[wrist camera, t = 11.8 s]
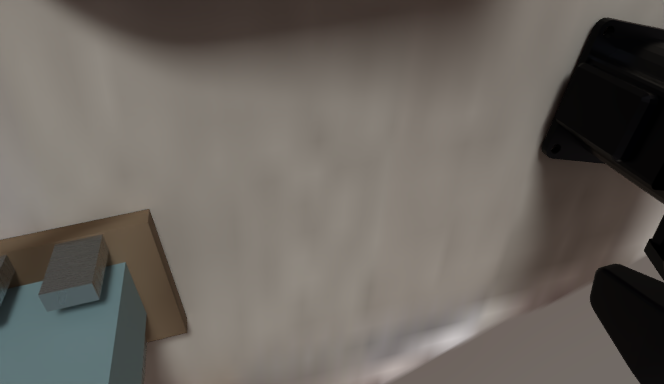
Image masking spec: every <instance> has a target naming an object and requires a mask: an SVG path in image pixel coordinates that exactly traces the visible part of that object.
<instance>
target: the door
mask: <svg viewBox="0 0 664 384" xmlns="http://www.w3.org/2000/svg"><path fill="white" fill-rule="evenodd" d="M42 282H43V281H40V282H35V283H31V284H27V285H22V286H18V287H13V288H9V289H7V292H6V294H5V297H4V299H3V301H2V304H1V306H0V384H141V380H142V367H143V354H144V341H145V328H146V315H147V313H146V311H145V308H144V306H143V303H142V301H141V299H140V296H139V294H138V291H137V289H136V286H135V284H134V281H133V279H132V277H131V274H130V272H129V269H128V267H127V264H126V262H124V263H119V264H115V265H111V266H106V268H105V274H104V279H103V284H102V289H101V295H100V300H96V301H92V302H88V303H83V304H79V305H75V306H70V307H66V308H62V309H57V310H53V311H49V312H47V311H46V309H45V307H44V305H43V304H42V302H41V300H40V298H39V296H38V294H39V291H40V288H41V285H42Z"/></svg>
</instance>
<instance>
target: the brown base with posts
mask: <svg viewBox="0 0 664 384" xmlns="http://www.w3.org/2000/svg"><path fill="white" fill-rule="evenodd" d="M124 262H126V264H127V267H128V269H129V272H130V274H131V277H132V279H133V281H134V284H135V286H136V289H137V291H138V294H139V296H140V299H141V301H142V303H143V306H144V308H145V311H146V313H147V315H146V328H145V341H144V354H143V367H142V380H141V384H144V375H145V361H146V347H147V342H151V341H155V340H159V339H163V338H167V337H171V336H175V335H179V334H183V333H187V317H186V314H185V311H184V309H183V306H182V303H181V300H180V297H179V294H178V291H177V288H176V285H175V283H174V280H173V277H172V274H171V271H170V268H169V265H168V262H167V259H166V257H165V254H164V251H163V248H162V245H161V242H160V239H159V236H158V233H157V231H156V228H155V225H154V222H153V219H152V216H151V213H150V210H149V209H147V210H142V211H138V212H133V213H128V214H123V215H118V216H114V217H109V218H104V219H99V220H94V221H90V222H85V223H80V224H75V225H70V226H66V227H61V228H56V229H51V230H46V231H42V232H37V233H32V234H27V235H23V236H18V237H13V238H8V239H3V240H0V306H1V304H2V301H3V299H4V297H5V294H6V292H7V289H9V288H13V287H18V286H22V285H27V284H31V283H35V282H40V281H43V282H42V285H41V288H40V291H39V294H38V296H39V298H40V300H41V302H42V304H43V305H44V307H45V309H46V311H47V312H49V311H53V310H57V309H62V308H66V307H70V306H75V305H79V304H83V303H88V302H92V301H96V300H100V295H101V289H102V284H103V279H104V274H105V268H106V266H111V265H115V264H119V263H124Z"/></svg>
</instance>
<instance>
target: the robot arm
mask: <svg viewBox="0 0 664 384" xmlns="http://www.w3.org/2000/svg"><path fill="white" fill-rule="evenodd" d="M607 27H608V30H607V32H606V33H605V34H604V30H605V29H606V28H607ZM603 34H604V35H603ZM554 145H556V146H555V147H554V148H553V149H552V147H553V146H554ZM551 149H552V150H551ZM542 152H543V153H544V154H545V155H547V156H548V157H549V158H553V159H563V160H574V161H584V162H594V163H604V164H607V165H608V166H610V167H611V168H613V169H614V170H615V171H617V172H618V173H620V174H621V175H623V176H624V177H625V178H627V179H628V180H630V181H631V182H633V183H634V184H636V185H637V186H638V187H640V188H641V189H643V190H644V191H646V192H647V193H648V194H650V195H651V196H653V197H654V198H656V199H657V200H659V201H660V202H661V203H663V204H664V29H660V28H656V27H651V26H646V25H641V24H636V23H631V22H627V21H622V20H617V19H612V18H603V19H601V20H599V21H598V22H597V23H596V24H595V26H594V28H593V30H592V32H591V34H590V37H589V39H588V41H587V44H586V46H585V48H584V50H583V53H582V55H581V57H580V60H579V62H578V64H577V66H576V69H575V71H574V73H573V76H572V78H571V80H570V83H569V85H568V87H567V89H566V92H565V94H564V96H563V99H562V101H561V103H560V105H559V108H558V110H557V112H556V115H555V117H554V119H553V122H552V124H551V126H550V128H549V131H548V133H547V135H546V138H545V140H544V142H543V145H542ZM644 252H645V253H646V255H647V256H648V258H649V259H650V261H651V262H652V264H653V265H654V267H655V268H656V270H657V271H658V273H659V274H660V276H661V277H662V278H663V280H664V215H663V217H662V219H661V221H660V224H659V226H658V228H657V230H656V232H655V234H654V236H653V238H651V239H649V241H648V243H647V245H646V247H645V249H644ZM590 302H591V305H592V308H593V310H594V311H595V313H596V314H597V316H598V318H599V320H600V321H601V323H602V325H603V326H604V328H605V329H606V331H607V333H608V334H609V336H610V338H611V339H612V341H613V342H614V344H615V346H616V347H617V349H618V351H619V352H620V354H621V355H622V357H623V359H624V360H625V362H626V363H627V365H628V367H629V368H630V370H631V371H632V373H633V374H634V375H635V377H636V378H637V380H638V381H639V382H640V384H664V283H663V282H661V281H659V280H656V279H654V278H652V277H649V276H647V275H644V274H642V273H640V272H637V271H635V270H632V269H630V268H628V267H625V266H623V265H620V264H612V265H608V266H604V267H601V268H599V269H598V270H597V271H596V273H595V277H594V281H593V286H592V290H591V294H590Z"/></svg>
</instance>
